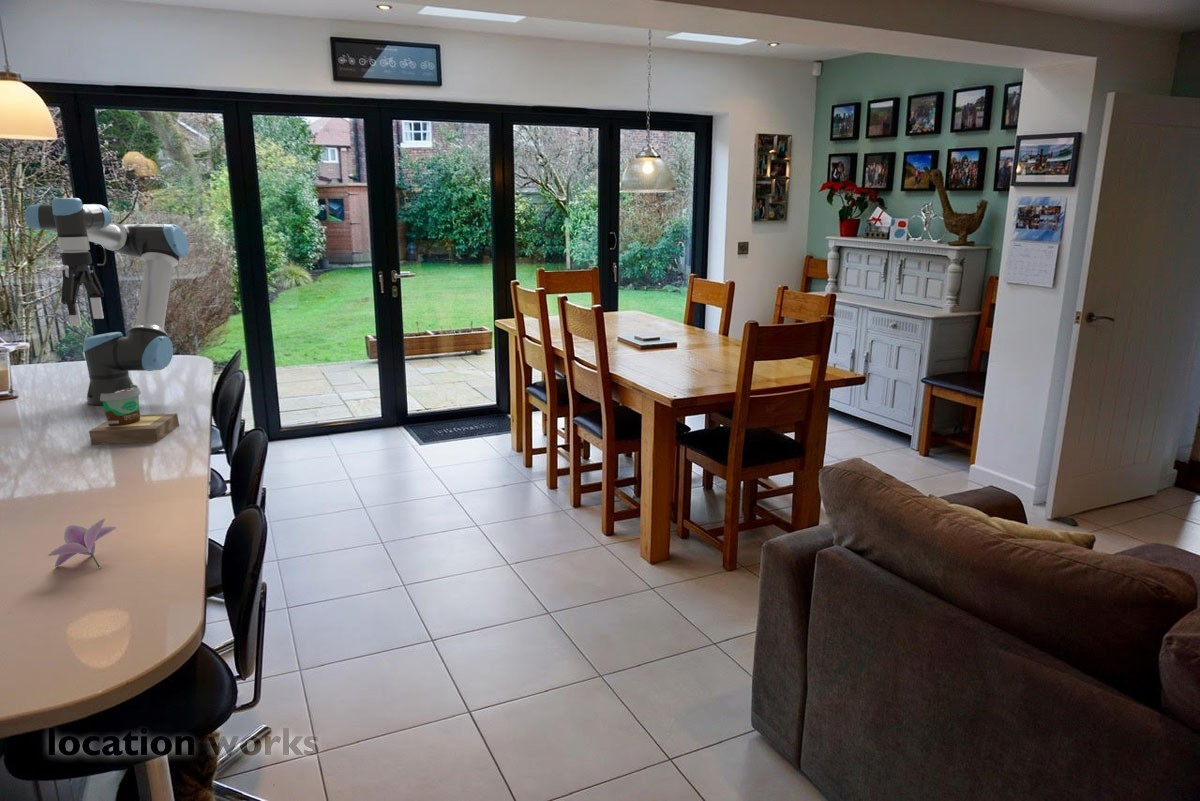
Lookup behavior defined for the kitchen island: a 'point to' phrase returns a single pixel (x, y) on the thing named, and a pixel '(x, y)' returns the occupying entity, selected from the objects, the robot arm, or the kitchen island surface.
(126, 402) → the food container
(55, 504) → the kitchen island surface
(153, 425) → the plate
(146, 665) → the kitchen island surface
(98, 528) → the lily
